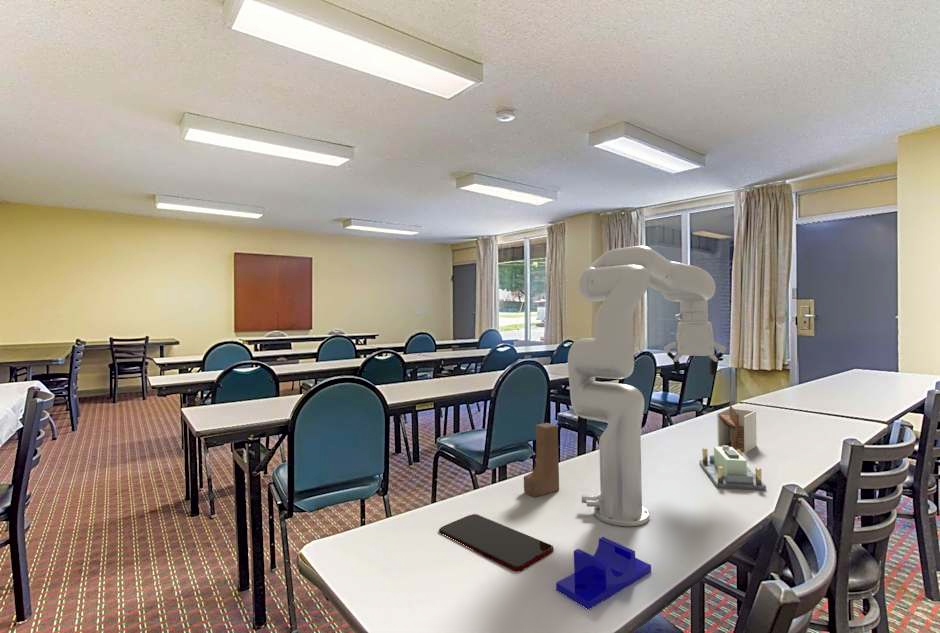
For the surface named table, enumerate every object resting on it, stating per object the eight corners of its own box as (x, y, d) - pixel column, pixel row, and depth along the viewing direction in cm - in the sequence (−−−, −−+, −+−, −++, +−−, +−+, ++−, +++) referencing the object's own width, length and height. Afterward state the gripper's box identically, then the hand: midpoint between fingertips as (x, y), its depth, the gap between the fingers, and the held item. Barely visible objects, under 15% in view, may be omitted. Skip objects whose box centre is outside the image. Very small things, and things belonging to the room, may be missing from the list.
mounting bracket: (619, 559, 96) (618, 529, 96) (651, 574, 91) (650, 542, 90) (556, 592, 86) (555, 559, 86) (588, 612, 80) (587, 576, 80)
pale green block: (726, 479, 133) (726, 456, 133) (714, 464, 146) (713, 443, 145) (746, 480, 132) (746, 457, 132) (732, 465, 144) (732, 443, 144)
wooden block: (533, 497, 127) (531, 430, 127) (523, 492, 131) (521, 426, 131) (559, 490, 132) (558, 425, 131) (549, 485, 135) (547, 422, 135)
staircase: (717, 449, 166) (716, 401, 165) (729, 442, 173) (728, 396, 173) (745, 454, 159) (744, 404, 159) (756, 447, 167) (755, 399, 166)
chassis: (716, 487, 130) (716, 468, 130) (699, 463, 150) (699, 447, 150) (766, 490, 128) (765, 470, 128) (741, 465, 147) (741, 448, 147)
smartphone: (474, 511, 118) (556, 545, 100) (474, 517, 118) (556, 552, 100) (435, 528, 110) (517, 568, 91) (435, 534, 110) (517, 576, 91)
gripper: (665, 318, 144) (666, 375, 144) (728, 317, 139) (729, 376, 140) (661, 318, 151) (662, 372, 151) (722, 317, 147) (723, 373, 147)
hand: (694, 374), depth 145 cm, fingers open, 9 cm apart
